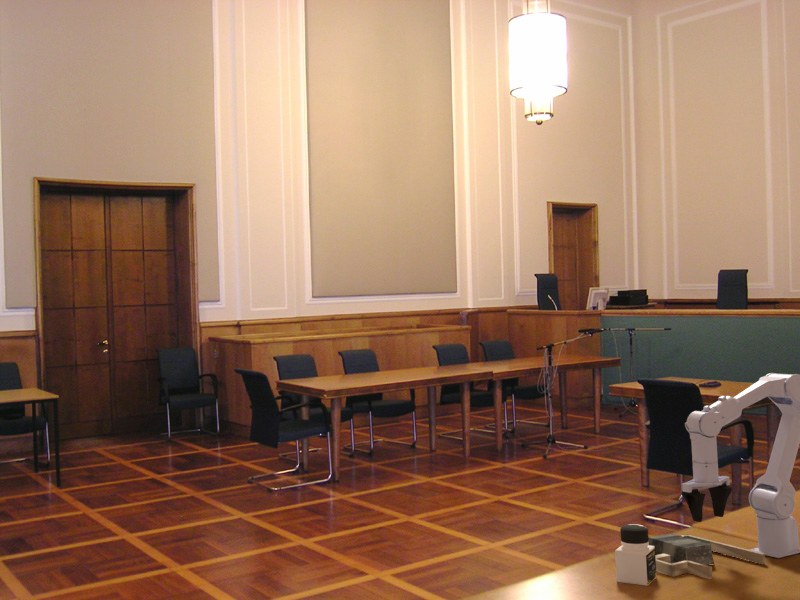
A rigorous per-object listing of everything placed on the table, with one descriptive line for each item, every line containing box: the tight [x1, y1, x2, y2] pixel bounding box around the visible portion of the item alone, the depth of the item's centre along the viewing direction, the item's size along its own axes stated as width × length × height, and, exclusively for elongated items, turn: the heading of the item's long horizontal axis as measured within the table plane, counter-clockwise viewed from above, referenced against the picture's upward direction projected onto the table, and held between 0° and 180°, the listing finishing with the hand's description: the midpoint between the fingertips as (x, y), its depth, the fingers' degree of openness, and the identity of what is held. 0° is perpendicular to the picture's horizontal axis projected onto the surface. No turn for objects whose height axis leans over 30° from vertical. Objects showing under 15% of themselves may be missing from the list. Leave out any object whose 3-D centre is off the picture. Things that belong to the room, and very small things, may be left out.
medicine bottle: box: [614, 523, 657, 587], centre depth 184 cm, size 7×7×12 cm
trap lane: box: [655, 534, 766, 580], centre depth 196 cm, size 24×23×2 cm
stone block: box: [648, 533, 715, 566], centre depth 198 cm, size 9×14×5 cm, turn 20°
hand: (708, 518), depth 196 cm, fingers open, 7 cm apart
